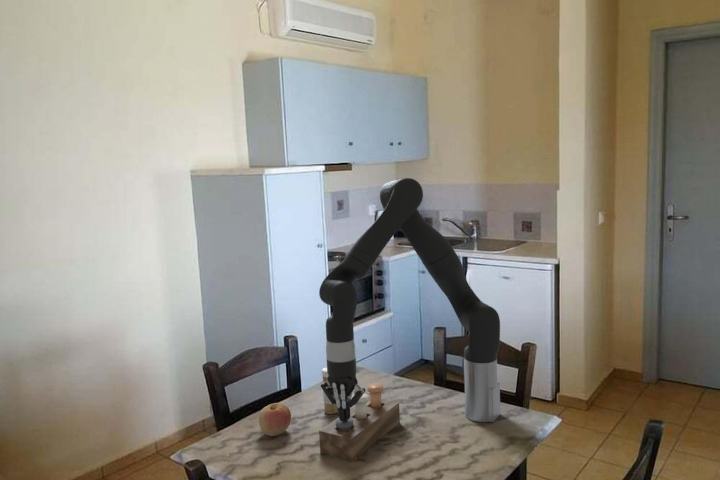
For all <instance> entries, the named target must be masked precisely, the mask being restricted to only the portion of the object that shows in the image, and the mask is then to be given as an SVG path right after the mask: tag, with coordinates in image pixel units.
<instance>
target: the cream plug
mask: <svg viewBox="0 0 720 480" xmlns="http://www.w3.org/2000/svg"><path fill="white" fill-rule="evenodd" d="M354 395H355V394H354V393H353V394H352V397H351V399H352V398H353V396H354ZM369 396H370V395H369V394H367V393H364V394H363V395H362V397H361V398H360V399H359V401H358V402H357V403H356V404H355V405H354V406H355V418H356V419H360V420H364V419H366V418H367V407H366V402H368V401H369Z"/></svg>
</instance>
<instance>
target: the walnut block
mask: <svg viewBox="0 0 720 480" xmlns="http://www.w3.org/2000/svg"><path fill="white" fill-rule="evenodd" d="M368 396H369V401H368V402H366V407H367V418H366V419H364V420H360V419H356V418H355V405H354V406H352V407H351V408H350V418H351V419H352V420H353V427H351V430H349V431H348V432H343V431H339V428H337V427H336V420H338V419H340V418H339V417H338V416H337V418H335V419H334V420H332V421H331V422H330V423H328V424H327V425H325V426H323V428H321V429H319V430H318V435H319V436H318V439H319V453H321V454H324V455H328V456H331V457H334V458H338V459H342V460H345V461H349V462H354V461H355V460H356V459H358V458H359V457H360V456H361V455H362V454H364V453H365V452H366V451H367V450H368V449H370V448H371V447H372V446H373V445H374V444H376V443H377V442H378V441H379V440H381V439H382V438H383V437H384V436H385V435H387V434H388V433H389V432H391V430H393V429H394V428H395V427H396V426H397V425H398V424H400V422H401V419H400V402H398V401H394V400H388V399H383V398H381V402H382V407H381V408H379V409H376V408H371V407H370V395H368Z"/></svg>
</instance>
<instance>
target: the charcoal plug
mask: <svg viewBox="0 0 720 480" xmlns="http://www.w3.org/2000/svg"><path fill="white" fill-rule="evenodd" d="M336 427H337V428H339V431H343V432H348V431H349V430H351V427H353V420H352V419H351V418H349V420H348V421H346V422H343V421H340V419H338V420H336Z"/></svg>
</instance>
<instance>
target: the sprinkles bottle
mask: <svg viewBox="0 0 720 480" xmlns="http://www.w3.org/2000/svg"><path fill="white" fill-rule="evenodd" d="M321 376H322V384H323V383H324V382H326V381H327V379H328V376H329V375H328V373H327V366H326V367H323V368H322V369H321ZM322 391H323V390H322ZM331 395H332V394H331ZM333 398H334V397H333ZM323 402H324V403H323V405H324V406H323V407H324V408H323V410H324V413H325V414H328V415H333V414H338V407H337V405H336V404H332V403H331V402H330V400H329V399H328V397H327V396H326V394H325V392H324V391H323Z"/></svg>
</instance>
